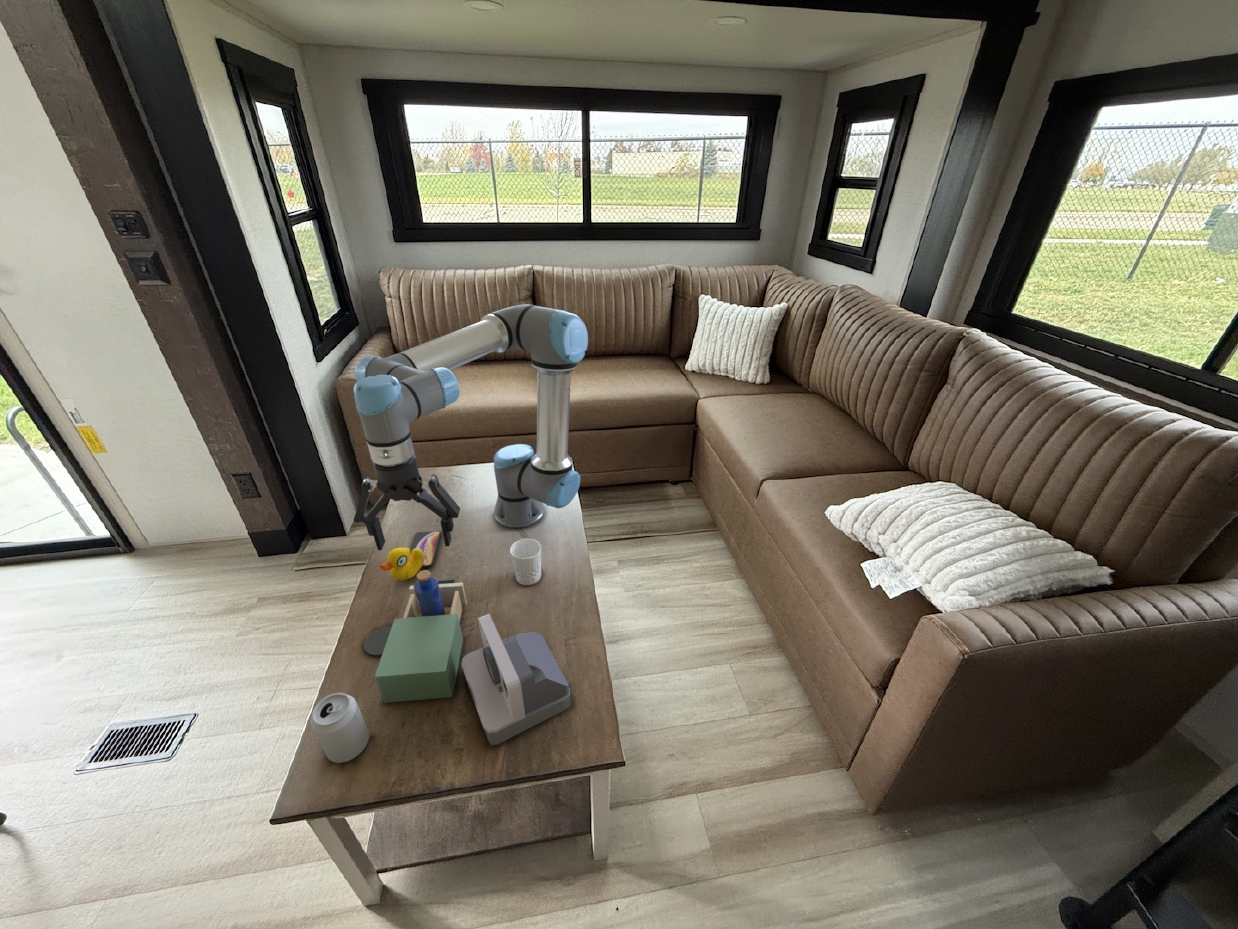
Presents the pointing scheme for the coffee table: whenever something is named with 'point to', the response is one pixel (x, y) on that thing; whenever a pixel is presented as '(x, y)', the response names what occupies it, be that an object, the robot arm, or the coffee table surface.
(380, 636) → the coaster
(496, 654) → the grey stand
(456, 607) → the drawer
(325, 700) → the can
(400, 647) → the cabinet
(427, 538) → the smartphone
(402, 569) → the duckling
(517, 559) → the white cup
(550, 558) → the coffee table surface
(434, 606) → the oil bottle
